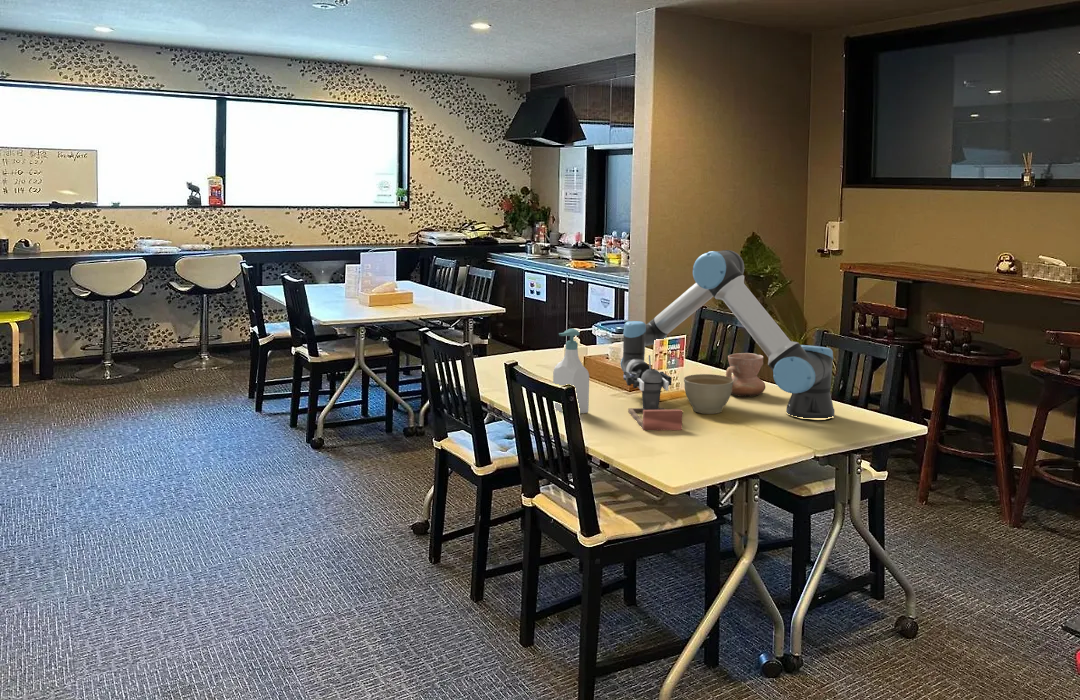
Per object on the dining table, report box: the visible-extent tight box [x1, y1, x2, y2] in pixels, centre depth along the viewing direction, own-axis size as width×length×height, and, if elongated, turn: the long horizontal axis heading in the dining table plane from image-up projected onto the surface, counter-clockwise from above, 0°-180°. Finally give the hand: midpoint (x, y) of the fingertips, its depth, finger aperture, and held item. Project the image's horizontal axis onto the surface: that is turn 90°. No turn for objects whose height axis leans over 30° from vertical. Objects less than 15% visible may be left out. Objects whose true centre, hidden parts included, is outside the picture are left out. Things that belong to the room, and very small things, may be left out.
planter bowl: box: [683, 373, 734, 415], centre depth 302 cm, size 16×16×11 cm
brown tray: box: [627, 407, 684, 431], centre depth 289 cm, size 23×12×6 cm, turn 6°
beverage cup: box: [641, 354, 663, 410], centre depth 293 cm, size 7×7×20 cm
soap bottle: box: [552, 328, 590, 414], centre depth 297 cm, size 11×8×27 cm
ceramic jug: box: [725, 352, 767, 397], centre depth 326 cm, size 18×14×14 cm
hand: (655, 386), depth 288 cm, fingers closed on beverage cup, 7 cm apart
